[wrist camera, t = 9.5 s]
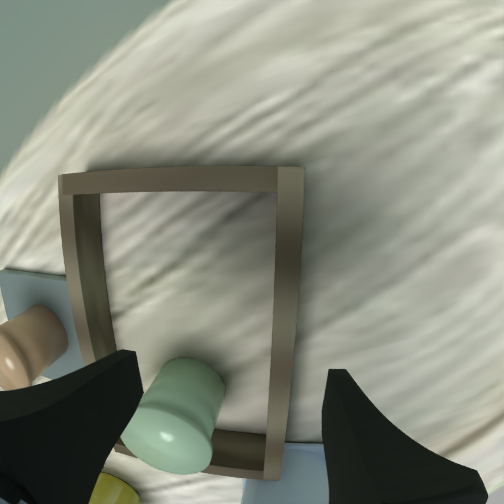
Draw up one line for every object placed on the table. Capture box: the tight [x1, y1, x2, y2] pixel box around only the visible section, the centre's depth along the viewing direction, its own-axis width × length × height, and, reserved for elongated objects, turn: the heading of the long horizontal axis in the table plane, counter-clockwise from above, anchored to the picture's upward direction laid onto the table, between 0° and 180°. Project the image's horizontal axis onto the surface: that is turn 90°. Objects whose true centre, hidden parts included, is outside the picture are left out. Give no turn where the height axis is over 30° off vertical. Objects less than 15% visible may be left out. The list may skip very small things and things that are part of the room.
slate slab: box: [0, 269, 84, 380], centre depth 23 cm, size 10×10×1 cm
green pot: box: [120, 358, 225, 475], centre depth 19 cm, size 6×6×6 cm
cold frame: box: [58, 166, 305, 481], centre depth 19 cm, size 21×14×4 cm
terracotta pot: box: [0, 304, 68, 391], centre depth 19 cm, size 6×6×6 cm
